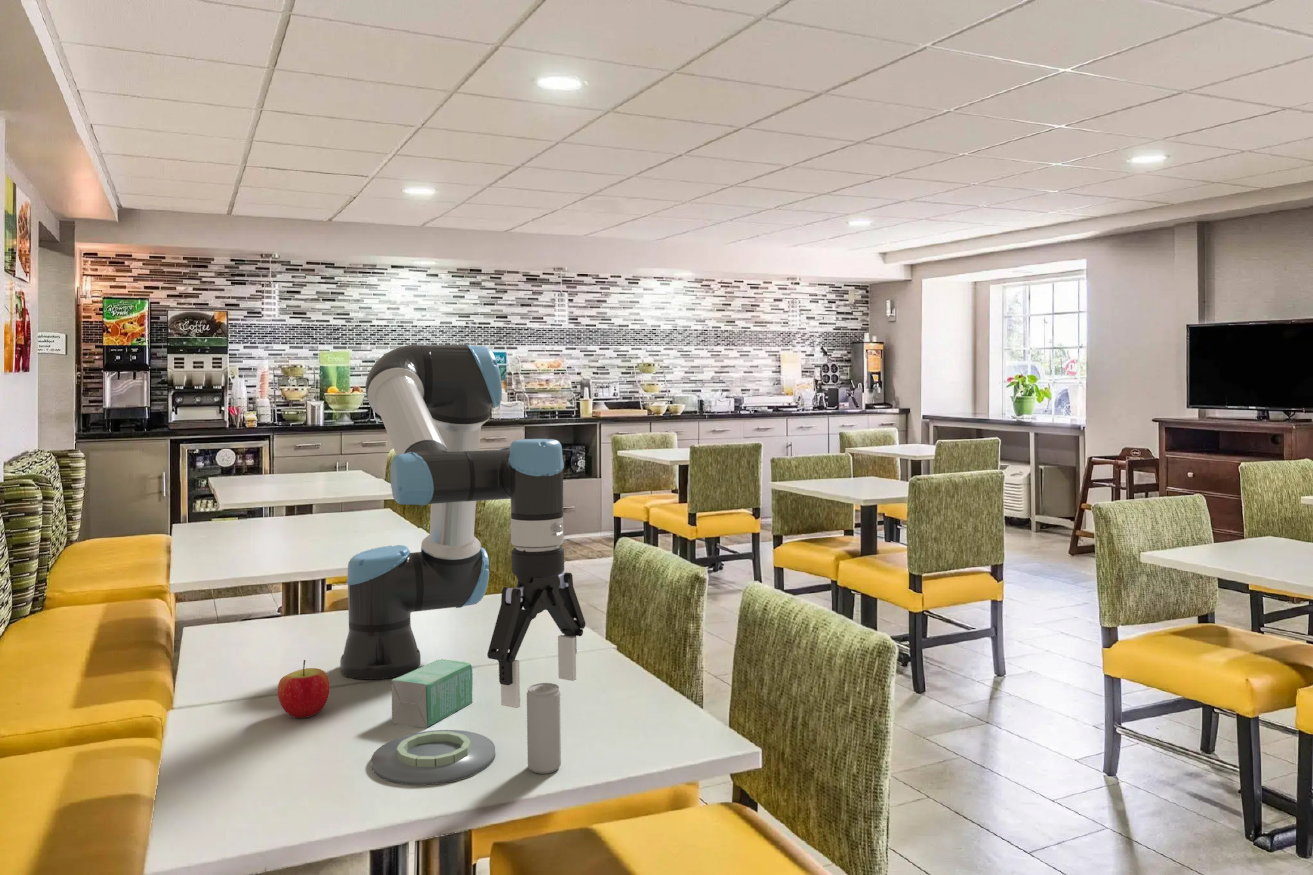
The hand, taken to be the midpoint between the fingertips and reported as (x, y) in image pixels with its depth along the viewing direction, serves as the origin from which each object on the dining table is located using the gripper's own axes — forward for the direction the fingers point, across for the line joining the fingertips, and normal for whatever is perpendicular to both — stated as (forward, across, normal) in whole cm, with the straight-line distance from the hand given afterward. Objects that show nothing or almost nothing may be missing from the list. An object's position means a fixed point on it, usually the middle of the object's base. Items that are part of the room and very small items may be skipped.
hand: (540, 692), depth 138 cm
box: (+12, +10, +30) cm, 34 cm away
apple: (+11, -2, +48) cm, 50 cm away
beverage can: (+12, +1, 0) cm, 12 cm away
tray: (+11, -5, +16) cm, 21 cm away
